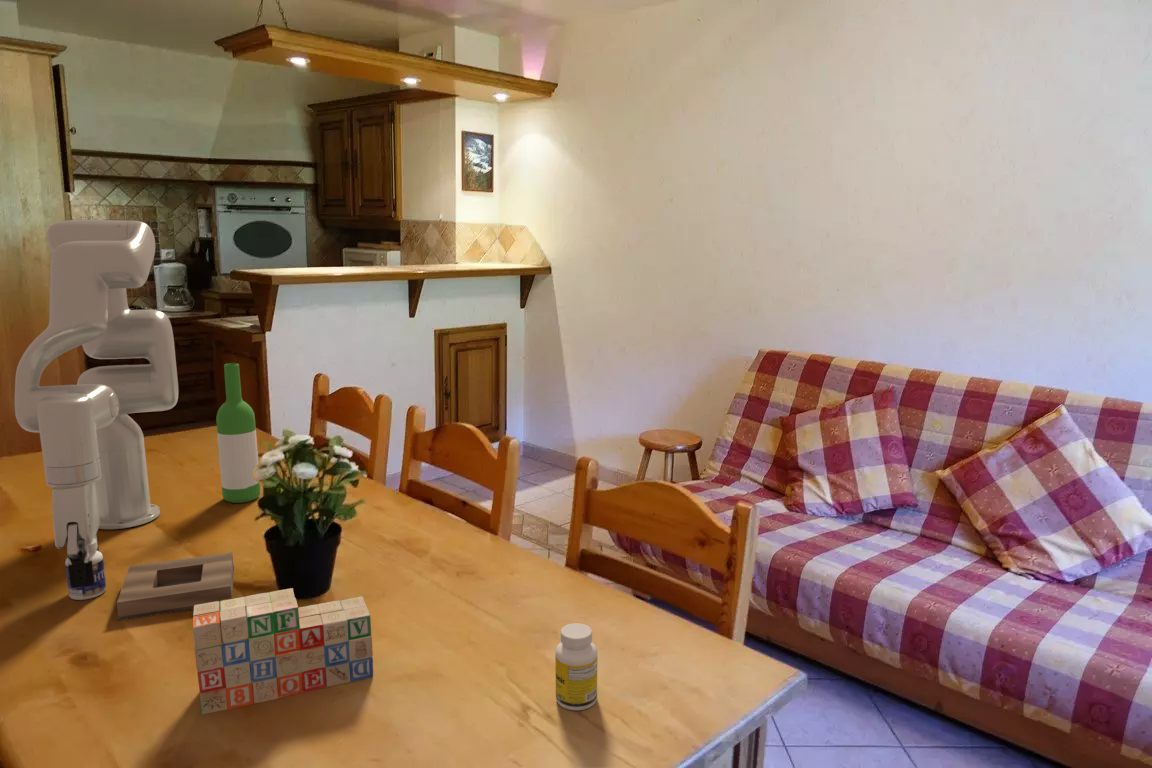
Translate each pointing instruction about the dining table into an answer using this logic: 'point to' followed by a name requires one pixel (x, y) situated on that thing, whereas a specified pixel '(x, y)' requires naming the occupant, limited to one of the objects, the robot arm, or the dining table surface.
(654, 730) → the dining table surface
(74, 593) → the pill bottle
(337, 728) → the dining table surface
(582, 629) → the supplement bottle
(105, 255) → the robot arm
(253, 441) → the wine bottle
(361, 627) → the stack of blocks
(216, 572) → the holder block
